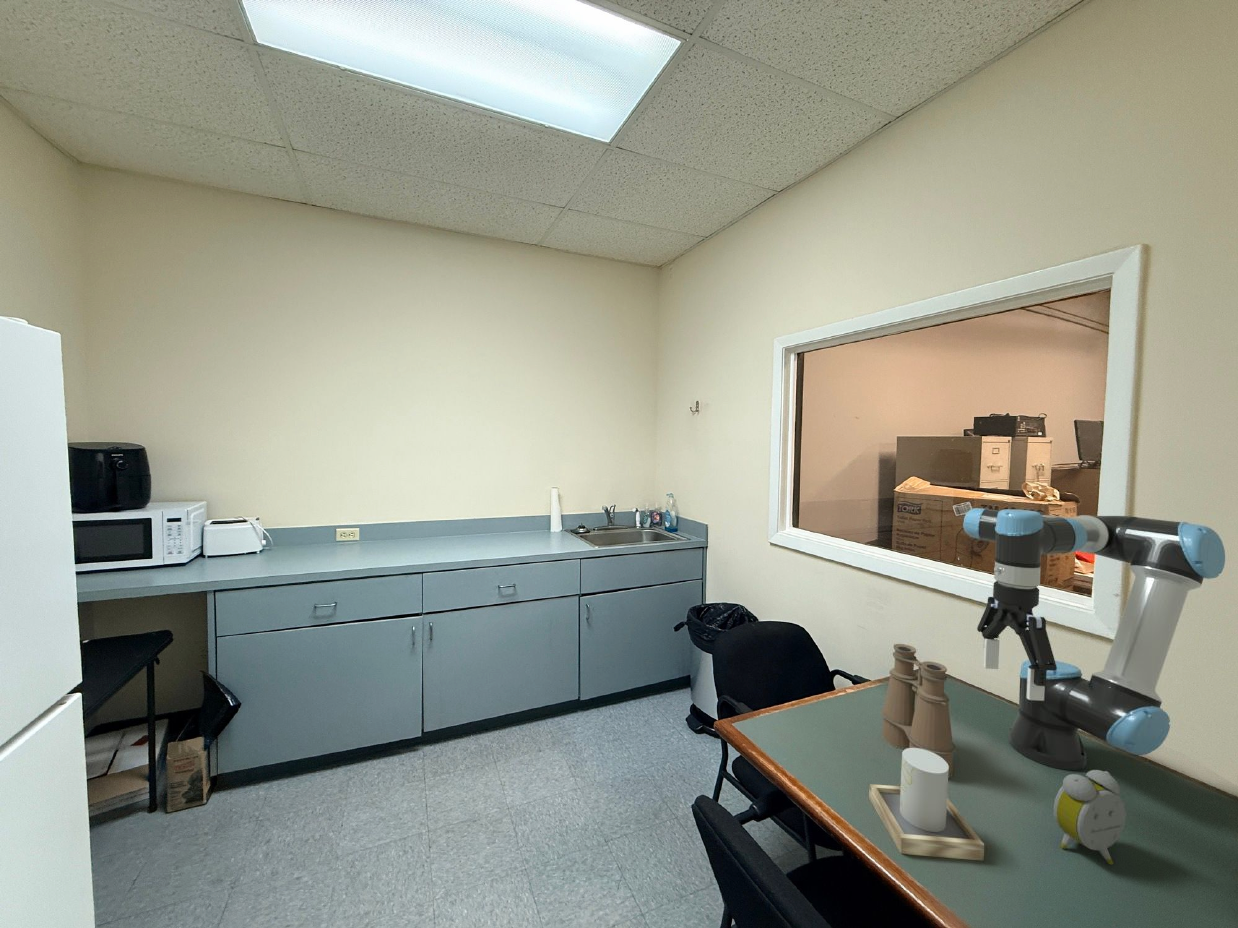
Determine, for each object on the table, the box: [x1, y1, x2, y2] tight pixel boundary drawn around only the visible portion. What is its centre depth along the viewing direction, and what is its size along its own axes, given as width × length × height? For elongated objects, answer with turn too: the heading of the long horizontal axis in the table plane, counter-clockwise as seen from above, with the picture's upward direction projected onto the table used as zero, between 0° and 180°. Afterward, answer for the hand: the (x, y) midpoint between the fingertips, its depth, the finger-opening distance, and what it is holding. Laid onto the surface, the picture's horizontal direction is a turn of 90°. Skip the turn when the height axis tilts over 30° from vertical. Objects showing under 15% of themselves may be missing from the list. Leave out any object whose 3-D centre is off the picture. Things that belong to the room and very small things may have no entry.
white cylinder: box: [900, 748, 949, 832], centre depth 102 cm, size 8×8×12 cm
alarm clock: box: [1053, 769, 1127, 865], centre depth 97 cm, size 12×7×15 cm, turn 103°
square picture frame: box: [868, 783, 985, 862], centre depth 103 cm, size 15×15×3 cm
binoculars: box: [880, 643, 956, 779], centre depth 127 cm, size 21×10×25 cm, turn 6°
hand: (1011, 682), depth 105 cm, fingers open, 13 cm apart
